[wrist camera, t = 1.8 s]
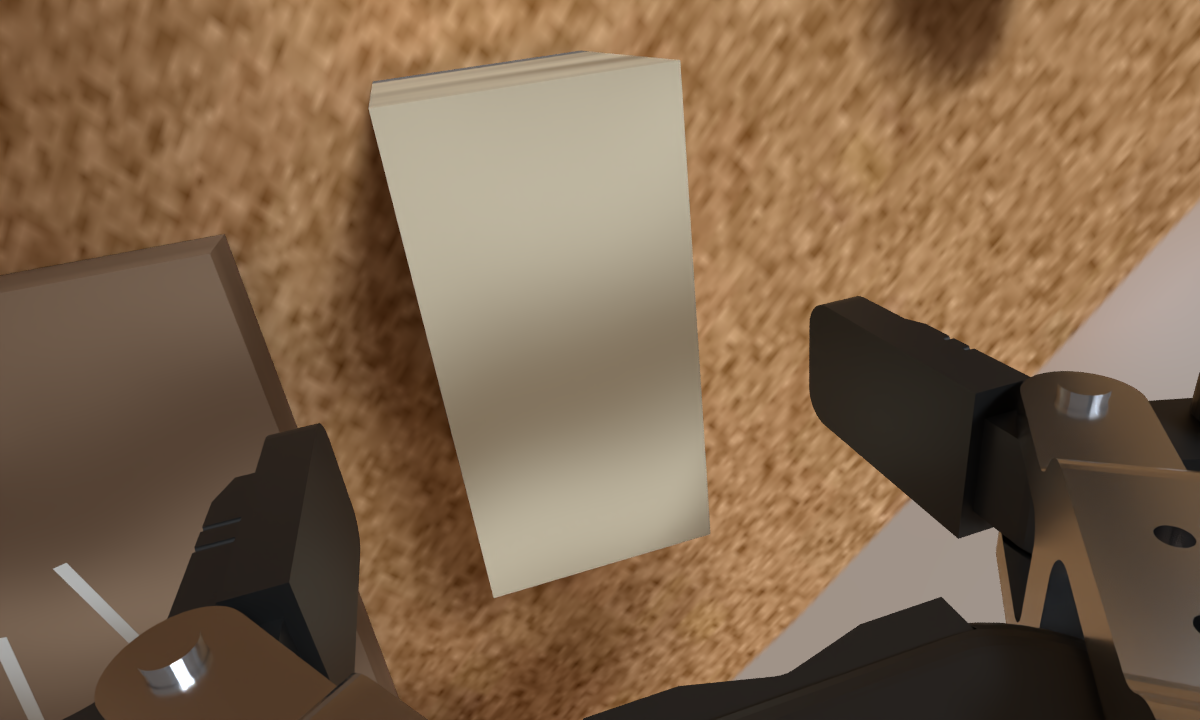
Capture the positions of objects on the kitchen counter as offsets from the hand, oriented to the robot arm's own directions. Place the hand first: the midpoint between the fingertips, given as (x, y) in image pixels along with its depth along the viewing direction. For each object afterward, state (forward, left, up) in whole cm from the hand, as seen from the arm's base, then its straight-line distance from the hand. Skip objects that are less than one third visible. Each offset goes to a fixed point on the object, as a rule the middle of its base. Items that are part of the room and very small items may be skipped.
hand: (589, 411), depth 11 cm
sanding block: (0, 0, -7) cm, 7 cm away
